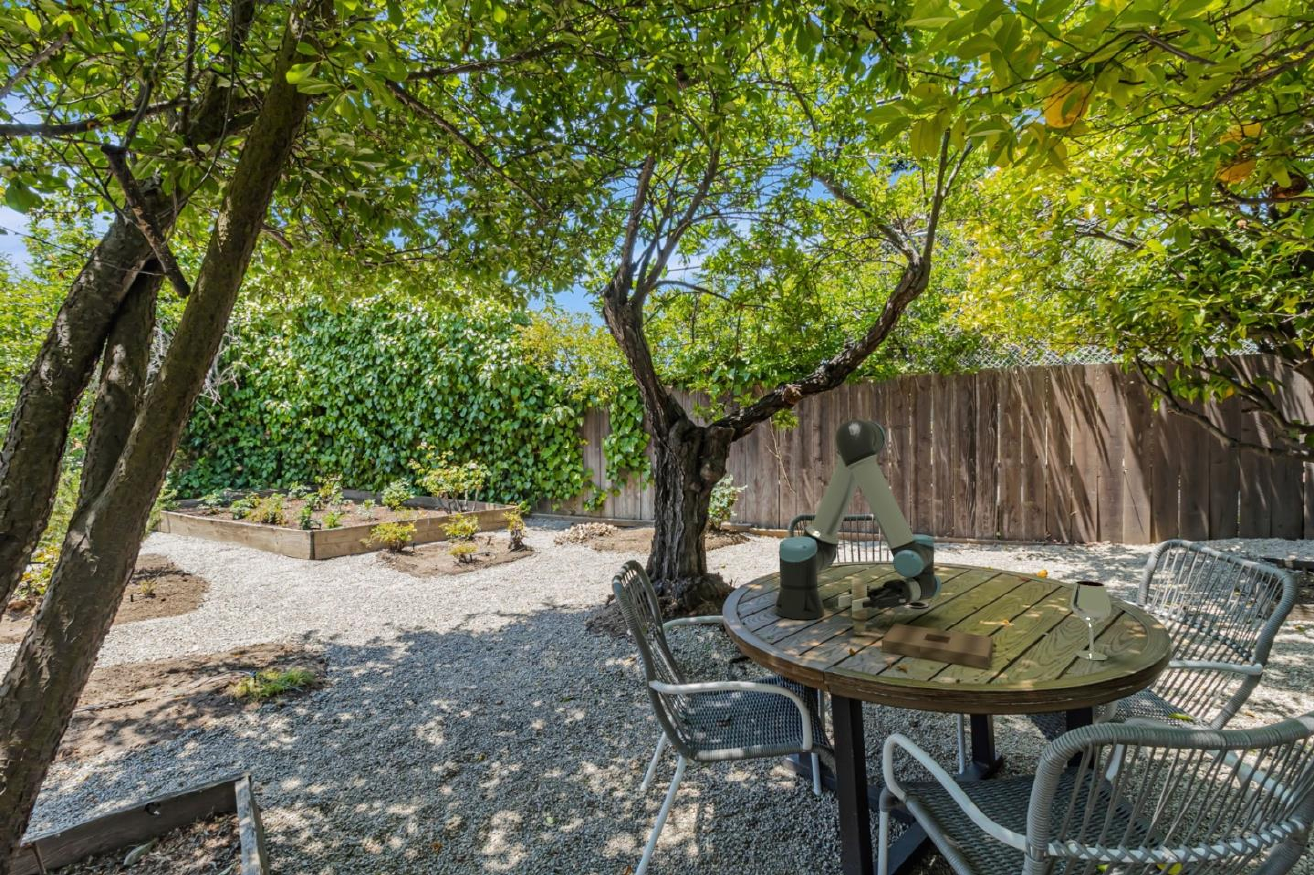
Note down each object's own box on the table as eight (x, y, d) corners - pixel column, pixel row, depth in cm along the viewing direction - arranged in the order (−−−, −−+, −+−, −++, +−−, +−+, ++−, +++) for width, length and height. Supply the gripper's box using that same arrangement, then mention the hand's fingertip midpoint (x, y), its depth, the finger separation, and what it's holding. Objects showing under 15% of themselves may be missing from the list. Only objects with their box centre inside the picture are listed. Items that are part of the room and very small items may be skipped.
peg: (849, 630, 164) (849, 580, 164) (854, 626, 167) (853, 577, 167) (865, 633, 162) (865, 582, 162) (869, 629, 165) (868, 579, 165)
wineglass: (1114, 655, 146) (1112, 582, 147) (1110, 665, 140) (1108, 589, 141) (1074, 648, 152) (1072, 578, 152) (1069, 657, 146) (1067, 584, 146)
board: (881, 651, 153) (881, 639, 153) (895, 633, 166) (894, 623, 166) (987, 669, 139) (987, 656, 139) (992, 648, 153) (992, 637, 153)
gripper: (926, 611, 167) (872, 626, 154) (876, 597, 181) (822, 610, 169) (926, 585, 167) (871, 597, 154) (876, 573, 181) (822, 584, 169)
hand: (846, 604), depth 162 cm, fingers closed on peg, 4 cm apart
